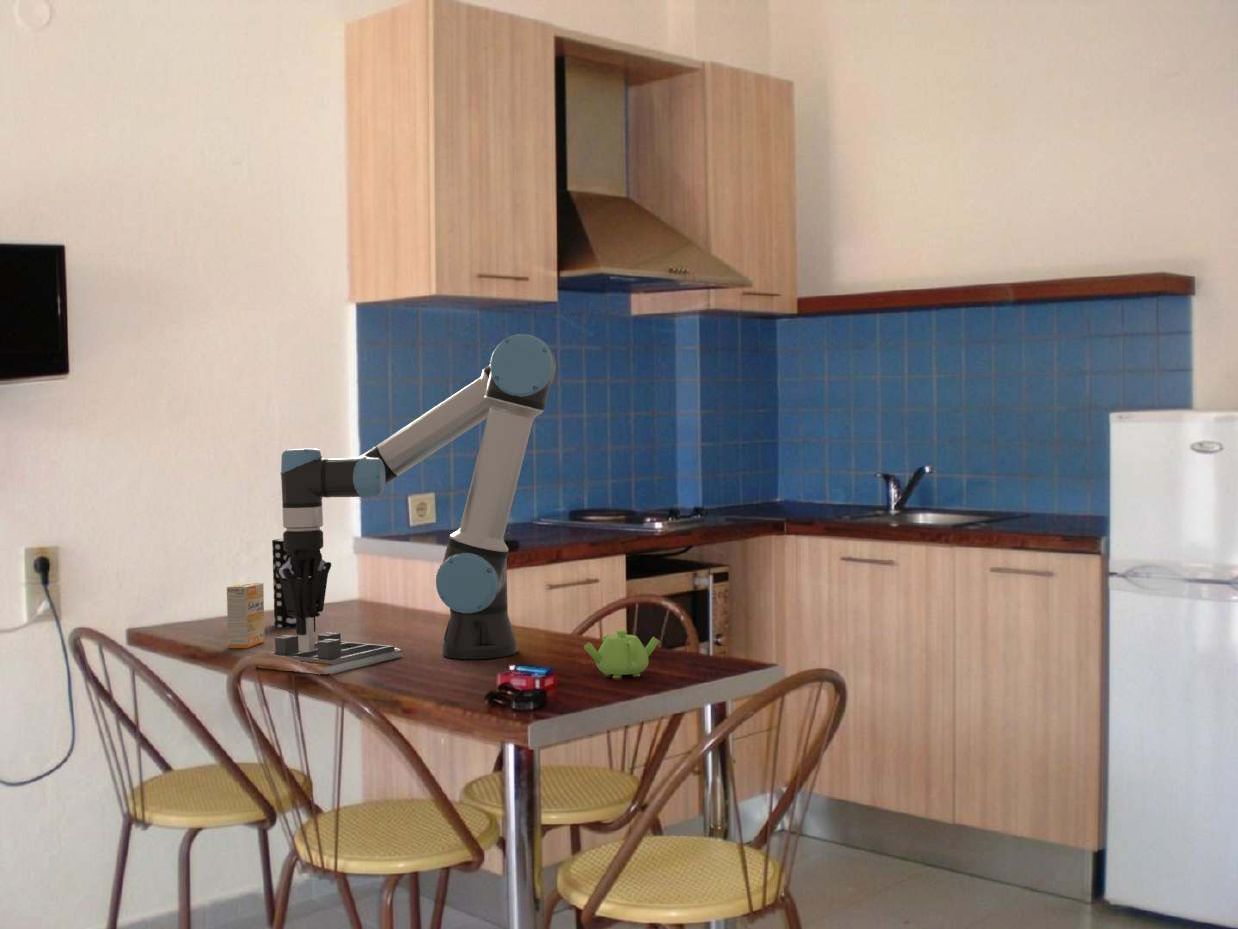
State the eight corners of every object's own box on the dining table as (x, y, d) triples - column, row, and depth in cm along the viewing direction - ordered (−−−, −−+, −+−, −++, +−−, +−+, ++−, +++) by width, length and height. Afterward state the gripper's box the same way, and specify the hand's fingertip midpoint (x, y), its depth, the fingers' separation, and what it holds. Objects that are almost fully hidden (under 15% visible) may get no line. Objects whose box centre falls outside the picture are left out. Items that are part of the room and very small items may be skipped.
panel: (401, 657, 277) (401, 644, 277) (325, 675, 258) (324, 662, 258) (334, 650, 286) (333, 638, 286) (255, 668, 267) (255, 655, 267)
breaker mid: (340, 653, 273) (340, 632, 273) (328, 656, 270) (327, 634, 269) (331, 652, 274) (330, 631, 274) (318, 655, 271) (317, 634, 271)
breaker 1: (298, 656, 270) (298, 634, 270) (285, 659, 267) (284, 637, 267) (289, 655, 272) (288, 634, 272) (275, 658, 269) (275, 636, 268)
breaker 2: (341, 660, 265) (340, 638, 265) (328, 663, 262) (327, 641, 262) (330, 659, 266) (330, 637, 266) (317, 662, 263) (317, 640, 263)
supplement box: (248, 649, 290) (246, 586, 290) (227, 648, 291) (225, 586, 291) (266, 642, 298) (264, 582, 298) (245, 642, 299) (243, 581, 299)
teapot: (640, 684, 245) (639, 636, 244) (580, 680, 249) (579, 633, 249) (661, 672, 255) (661, 627, 255) (604, 669, 259) (603, 624, 259)
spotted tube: (318, 623, 324) (316, 538, 324) (292, 628, 317) (290, 541, 317) (293, 621, 329) (290, 537, 328) (266, 626, 322) (264, 540, 321)
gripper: (312, 525, 273) (315, 644, 274) (264, 531, 262) (267, 655, 262) (340, 526, 269) (344, 647, 270) (293, 532, 258) (297, 657, 259)
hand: (306, 651), depth 266 cm, fingers closed
